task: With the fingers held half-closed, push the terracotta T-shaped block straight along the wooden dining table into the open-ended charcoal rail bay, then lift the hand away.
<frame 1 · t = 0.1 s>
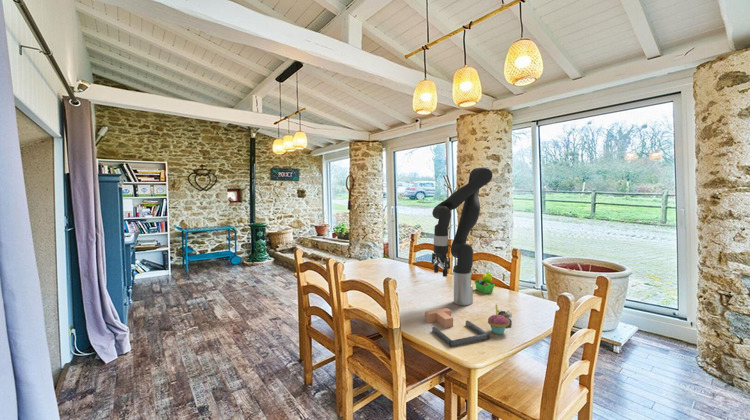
hand: (440, 274, 170), 17 cm above the table, tool pointing down, fingers open, 8 cm apart
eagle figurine: (503, 324, 148), on the table
rail bay: (459, 334, 138), on the table
cupcake: (498, 332, 140), on the table
T-block: (442, 322, 151), on the table
fruit basket: (485, 291, 194), on the table
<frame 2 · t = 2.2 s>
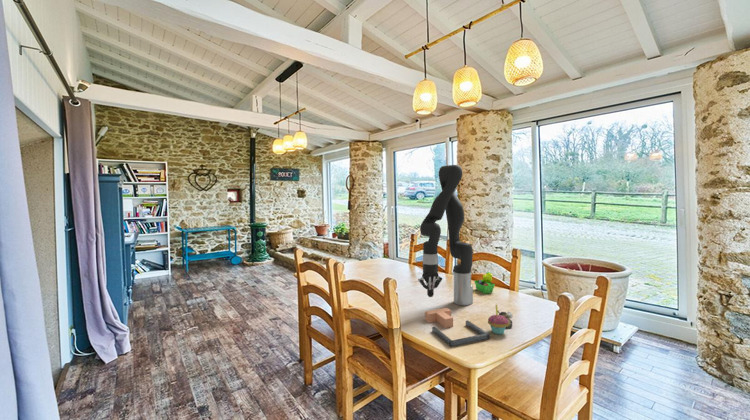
hand: (430, 296, 161), 9 cm above the table, tool pointing down, fingers closed
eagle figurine: (504, 325, 146), on the table, touching cupcake
cupcake: (498, 332, 140), on the table, touching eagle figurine
everything else where it was.
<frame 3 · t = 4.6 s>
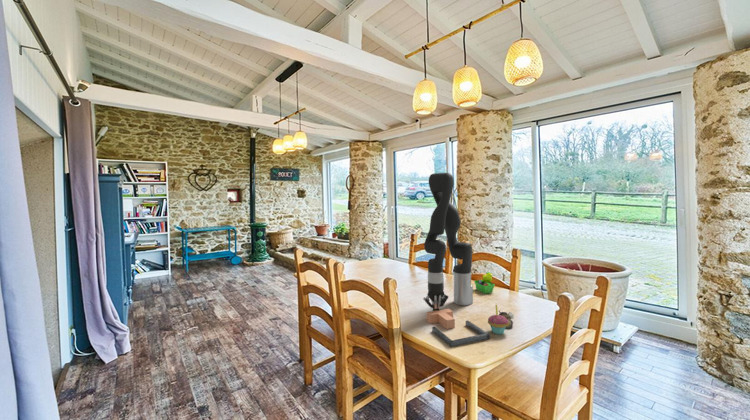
hand: (436, 315, 157), 1 cm above the table, tool pointing down, fingers closed
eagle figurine: (505, 325, 146), on the table
cupcake: (498, 332, 140), on the table
T-block: (444, 323, 150), on the table, touching gripper
everything else where it was.
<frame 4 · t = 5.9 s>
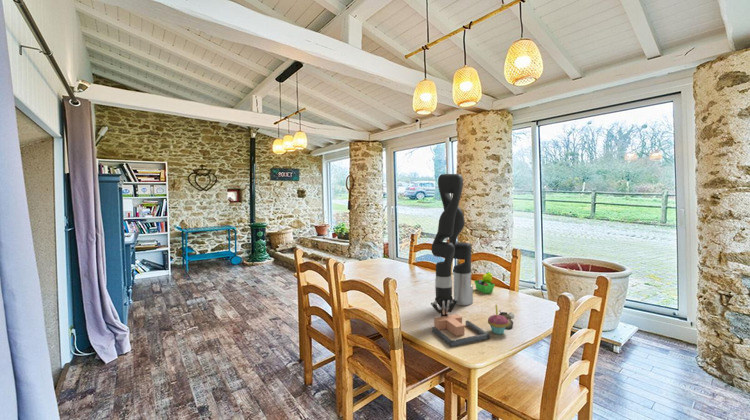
hand: (444, 321, 149), 1 cm above the table, tool pointing down, fingers closed
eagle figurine: (505, 325, 146), on the table, touching cupcake
cupcake: (498, 332, 140), on the table, touching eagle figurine
T-block: (452, 329, 143), on the table, touching gripper
everything else where it was.
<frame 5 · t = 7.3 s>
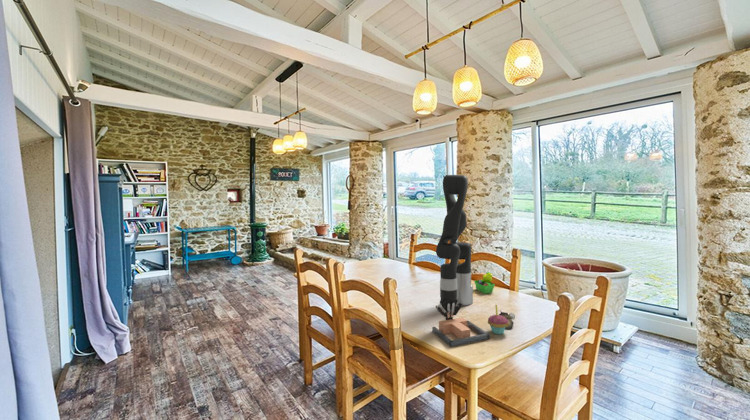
hand: (449, 324, 146), 1 cm above the table, tool pointing down, fingers closed
T-block: (458, 333, 139), on the table
everything else where it was.
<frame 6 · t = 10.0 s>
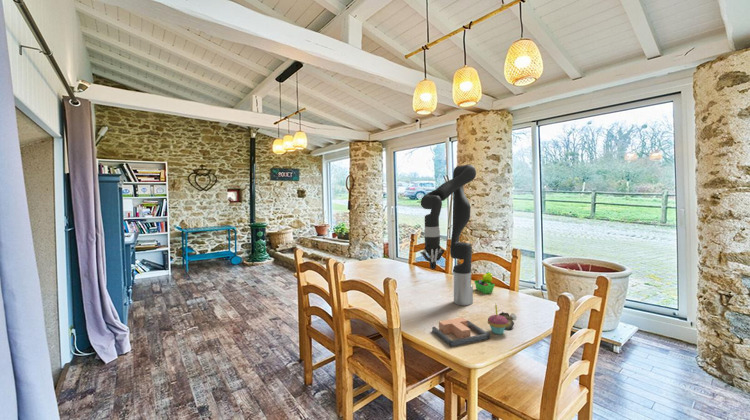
hand: (433, 269, 162), 22 cm above the table, tool pointing down, fingers closed
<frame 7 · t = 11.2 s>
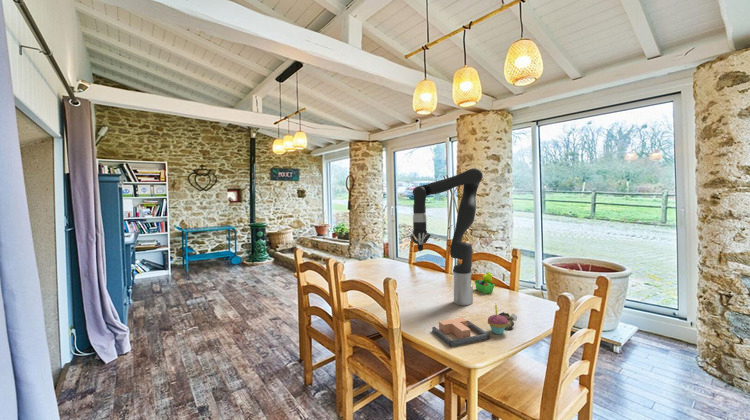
hand: (420, 250, 186), 27 cm above the table, tool pointing down, fingers closed
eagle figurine: (506, 326, 145), on the table
cupcake: (498, 332, 140), on the table
everything else where it was.
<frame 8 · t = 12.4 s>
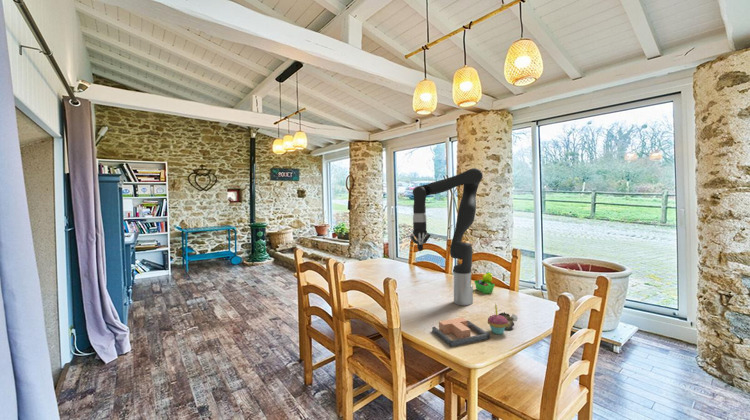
hand: (420, 250, 186), 27 cm above the table, tool pointing down, fingers closed
at the end: T-block inside the target area on the rail bay (0.9 cm from its centre), point 0.0 cm above the rail bay's base; T-block tilted 0° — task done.
